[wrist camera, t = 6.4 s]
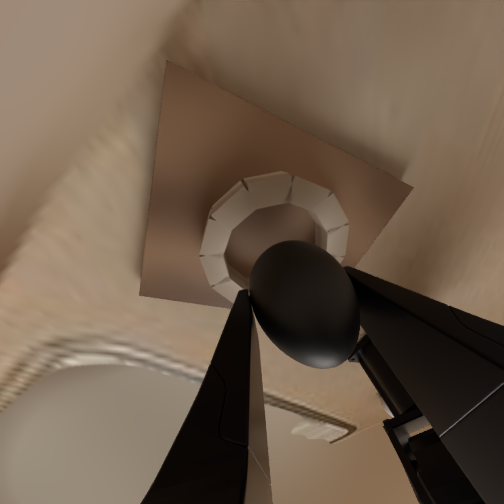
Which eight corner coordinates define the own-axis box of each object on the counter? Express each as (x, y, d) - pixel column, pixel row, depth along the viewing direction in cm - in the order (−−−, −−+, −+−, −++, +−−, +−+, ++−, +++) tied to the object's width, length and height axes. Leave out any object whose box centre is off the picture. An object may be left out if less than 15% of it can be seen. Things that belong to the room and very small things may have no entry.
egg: (229, 278, 9) (237, 389, 5) (277, 212, 8) (343, 290, 4) (287, 303, 11) (330, 403, 7) (336, 252, 10) (429, 338, 5)
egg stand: (310, 311, 17) (322, 335, 15) (144, 285, 13) (129, 313, 11) (399, 184, 12) (439, 193, 10) (172, 68, 8) (154, 40, 6)
